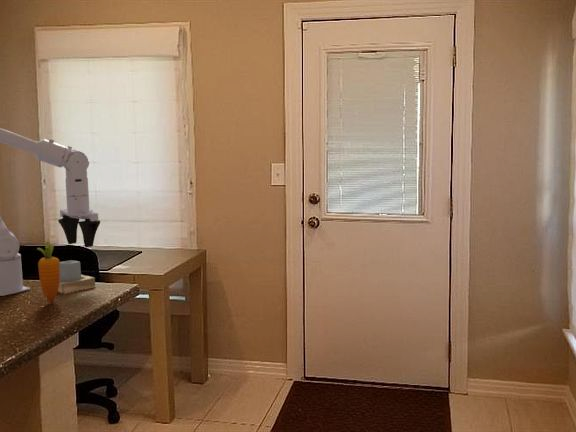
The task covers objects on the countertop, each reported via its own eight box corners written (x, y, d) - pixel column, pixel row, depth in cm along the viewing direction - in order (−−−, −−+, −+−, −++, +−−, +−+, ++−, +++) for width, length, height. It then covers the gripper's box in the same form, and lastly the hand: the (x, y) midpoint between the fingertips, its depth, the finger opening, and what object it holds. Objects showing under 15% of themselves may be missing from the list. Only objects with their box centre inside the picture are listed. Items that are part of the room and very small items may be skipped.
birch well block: (45, 288, 171) (45, 279, 171) (75, 282, 178) (74, 273, 178) (65, 294, 165) (64, 284, 165) (95, 286, 172) (94, 277, 172)
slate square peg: (59, 288, 171) (58, 262, 170) (73, 285, 174) (71, 260, 173) (68, 290, 169) (66, 264, 168) (81, 287, 172) (80, 261, 171)
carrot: (55, 306, 154) (51, 244, 152) (36, 305, 155) (32, 244, 153) (66, 301, 159) (62, 241, 157) (47, 300, 160) (43, 240, 158)
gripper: (106, 195, 173) (109, 245, 175) (74, 192, 182) (77, 240, 184) (84, 198, 167) (87, 249, 169) (52, 194, 176) (55, 243, 178)
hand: (80, 245), depth 176 cm, fingers open, 7 cm apart
